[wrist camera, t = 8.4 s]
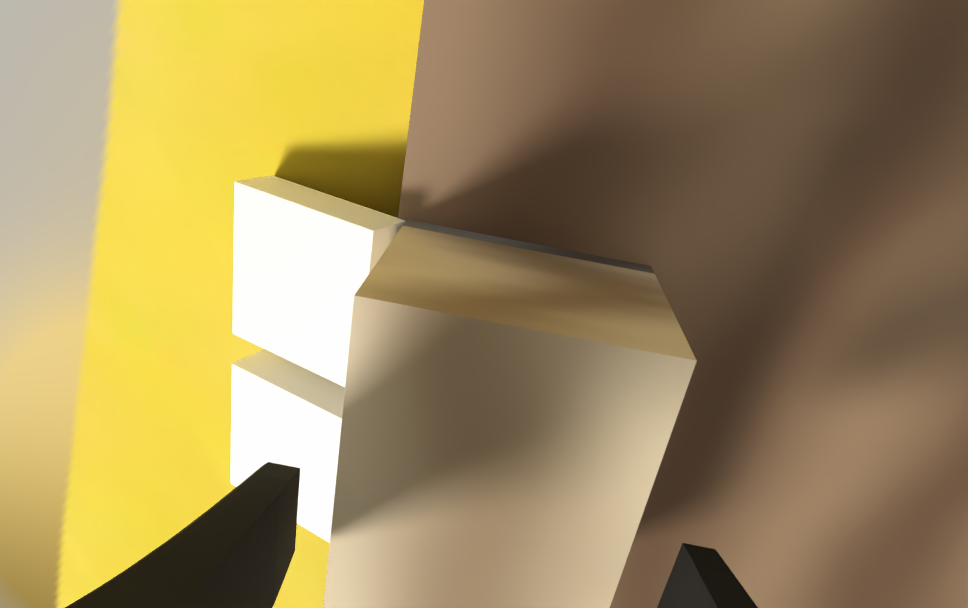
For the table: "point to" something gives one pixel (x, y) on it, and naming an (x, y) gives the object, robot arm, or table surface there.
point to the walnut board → (746, 257)
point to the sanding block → (499, 424)
